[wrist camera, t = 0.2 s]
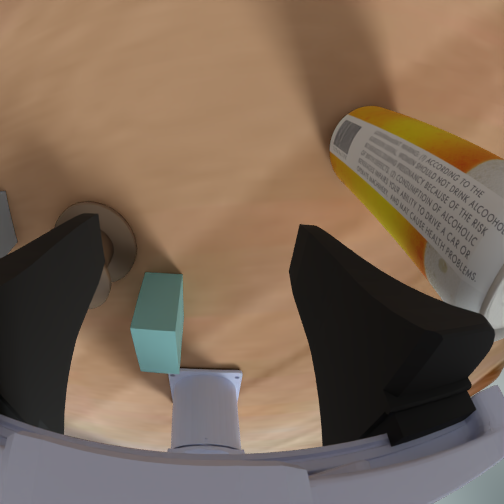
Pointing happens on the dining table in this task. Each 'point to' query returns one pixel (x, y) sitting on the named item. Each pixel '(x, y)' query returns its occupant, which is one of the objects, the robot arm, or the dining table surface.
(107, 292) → the bobbin
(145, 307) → the block
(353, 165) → the beer can
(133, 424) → the dining table surface
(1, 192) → the grey bricks
